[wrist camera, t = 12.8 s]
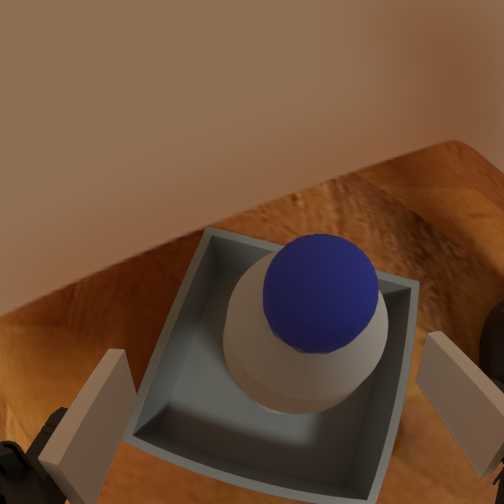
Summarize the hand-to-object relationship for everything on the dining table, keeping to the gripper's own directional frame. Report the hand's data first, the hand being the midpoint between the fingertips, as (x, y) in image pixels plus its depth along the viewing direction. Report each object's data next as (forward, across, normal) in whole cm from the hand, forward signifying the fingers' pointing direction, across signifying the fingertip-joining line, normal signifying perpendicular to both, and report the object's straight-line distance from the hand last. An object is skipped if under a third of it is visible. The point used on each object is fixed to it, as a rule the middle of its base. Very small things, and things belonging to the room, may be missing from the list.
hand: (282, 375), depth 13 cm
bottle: (+11, +1, -9) cm, 14 cm away
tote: (+12, +1, -9) cm, 15 cm away
